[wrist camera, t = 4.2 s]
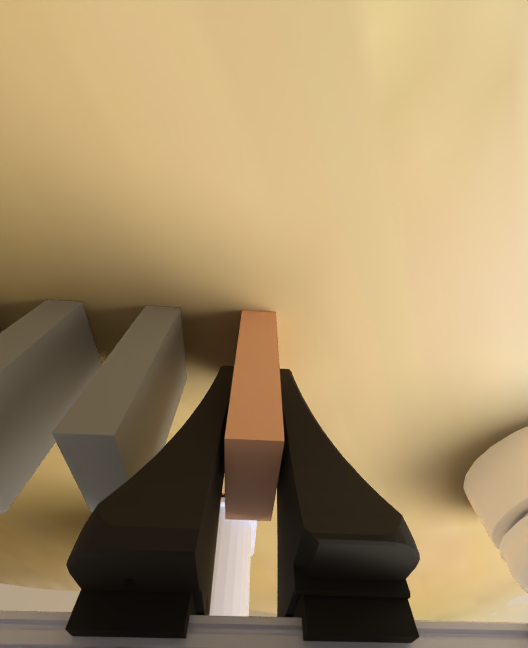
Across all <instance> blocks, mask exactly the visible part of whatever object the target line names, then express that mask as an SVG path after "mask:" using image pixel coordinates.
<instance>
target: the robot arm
mask: <svg viewBox="0 0 528 648" xmlns="http://www.w3.org/2000/svg"><path fill="white" fill-rule="evenodd" d="M233 373H234V366H222V367H221V368H220V370H219V372H218V374H217V376H216V378H215V380H214V382H213V384H212V385H211V387H210V389H209V390H208V392H207V394H206V395H205V397H204V398H203V400H202V401H201V403H200V404H199V406H198V407H197V408H196V410H195V411H194V412H193V414H192V415H191V416H190V418H189V419H188V420H187V421H186V423H185V424H184V425H183V426H182V428H181V429H180V430H179V431H178V432H177V433H176V434H175V436H174V437H173V438H172V439H171V440H170V441H169V442H168V443H167V444H166V445H165V446H164V447H163V448H162V449H161V450H160V451H159V452H158V453H157V454H156V455H155V456H154V457H153V458H152V459H151V460H150V461H149V462H148V463H147V464H146V465H144V466H143V467H142V468H141V469H140V470H139V471H138V472H137V473H136V474H135V475H133V476H132V477H131V478H130V479H129V480H128V481H126V482H125V483H124V484H123V485H121V486H120V487H119V488H118V489H116V490H115V491H114V492H112V493H111V494H110V495H109V496H107V497H106V498H105V499H104V500H102V501H101V502H100V503H99V504H98V505H97V506H96V508H95V509H94V511H93V512H92V514H91V516H90V517H89V519H88V521H87V522H86V524H85V526H84V527H83V529H82V531H81V533H80V535H79V537H78V539H77V541H76V543H75V546H74V548H73V550H72V552H71V554H70V556H69V558H68V561H67V564H66V565H67V568H68V570H69V573H70V574H71V576H72V577H73V578H74V580H75V581H76V582H77V584H78V585H79V586H80V588H81V591H80V594H79V596H78V599H77V601H76V604H75V606H74V608H73V611H72V612H37V611H0V648H528V623H510V622H467V621H424V620H414V618H413V615H412V611H411V608H410V605H409V602H408V599H409V598H410V591H409V588H408V585H407V582H406V578H407V577H408V576H409V575H410V573H411V572H412V571H413V570H414V569H415V568H416V566H417V564H418V562H419V560H420V556H419V552H418V549H417V547H416V544H415V541H414V539H413V537H412V535H411V532H410V530H409V528H408V526H407V524H406V522H405V520H404V518H403V516H402V515H401V514H400V513H399V512H398V511H397V510H396V509H394V508H393V507H392V506H391V505H390V504H389V503H388V502H387V501H386V500H384V499H383V498H382V497H381V496H380V495H379V494H378V493H377V492H376V491H375V490H374V489H373V488H372V487H371V486H370V485H369V484H368V483H367V482H366V481H365V480H364V479H363V478H362V477H361V476H360V475H359V474H358V473H357V472H356V470H355V469H354V468H353V467H352V466H351V465H350V464H349V463H348V462H347V460H346V459H345V458H344V457H343V456H342V455H341V453H340V452H339V451H338V450H337V448H336V447H335V446H334V445H333V443H332V442H331V441H330V439H329V438H328V437H327V435H326V434H325V433H324V431H323V430H322V428H321V427H320V425H319V424H318V422H317V421H316V419H315V417H314V416H313V414H312V413H311V411H310V409H309V407H308V406H307V404H306V402H305V400H304V399H303V397H302V395H301V393H300V391H299V389H298V387H297V384H296V382H295V380H294V377H293V375H292V372H291V371H290V370H289V369H280V382H281V397H282V412H283V427H284V447H283V453H282V459H281V465H280V471H279V477H278V482H277V532H278V608H277V617H252V616H249V591H250V561H251V556H252V555H253V553H254V545H255V536H256V527H257V520H229V519H225V497H221V496H222V486H223V479H224V473H225V439H224V438H225V431H226V424H227V417H228V409H229V402H230V395H231V387H232V380H233Z"/></svg>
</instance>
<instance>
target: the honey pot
mask: <svg viewBox="0 0 528 648" xmlns="http://www.w3.org/2000/svg"><path fill="white" fill-rule="evenodd" d="M463 488H464V491H465V493H466V496H467V498H468V500H469V502H470V504H471V505H472V507H473V509H474V511H475V512H476V514H477V516H478V517H479V519H480V521H481V523H482V524H483V526H484V528H485V530H486V531H487V533H488V535H489V537H490V538H491V540H492V542H493V543H494V545H495V546H496V547H497V548H498V549H499V551H500V554H501V557H502V559H503V560H504V561H505V562H506V563H507V565H508V567H509V569H510V572H511V574H512V576H513V578H514V579H515V580H516V582H517V583H518V584H519V585H520V587H521V588H522V589H523V590H525V591H526V592H527V593H528V426H527V427H525V428H522V429H520V430H518V431H515V432H514V433H512V434H510V435H509V436H507V437H505V438H504V439H502V440H501V441H499V442H497V443H496V444H494V445H492V446H491V447H490V448H489V449H488V450H487V451H485V452H484V453H483V454H482V455H481V456H480V457H479V458H478V459H476V460H475V462H474V463H473V465H472V466H471V468H470V469H469V471H468V472H467V473H466V476H465V481H464V486H463Z"/></svg>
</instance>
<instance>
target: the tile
mask: <svg viewBox="0 0 528 648" xmlns="http://www.w3.org/2000/svg"><path fill="white" fill-rule="evenodd" d="M224 439H225V519H229V520H257V521H271V518H272V512H273V506H274V500H275V494H276V488H277V482H278V477H279V471H280V465H281V459H282V453H283V447H284V427H283V412H282V397H281V382H280V367H279V352H278V337H277V322H276V312H263V311H246V310H242V315H241V322H240V329H239V336H238V344H237V351H236V358H235V366H234V373H233V380H232V387H231V395H230V402H229V409H228V417H227V424H226V431H225V438H224Z"/></svg>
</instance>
